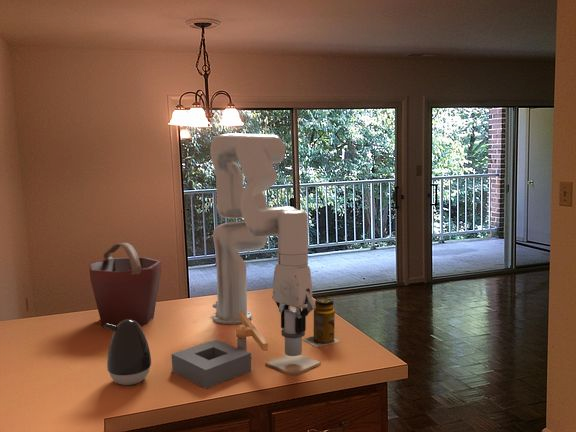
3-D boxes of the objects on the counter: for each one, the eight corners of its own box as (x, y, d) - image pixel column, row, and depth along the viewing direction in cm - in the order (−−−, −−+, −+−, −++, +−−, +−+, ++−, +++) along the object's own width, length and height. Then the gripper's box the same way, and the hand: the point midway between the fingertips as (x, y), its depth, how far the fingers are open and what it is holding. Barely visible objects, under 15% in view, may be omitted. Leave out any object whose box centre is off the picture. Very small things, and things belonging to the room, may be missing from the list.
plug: (276, 353, 136) (276, 311, 135) (292, 346, 140) (292, 306, 139) (293, 359, 132) (293, 316, 130) (309, 352, 136) (309, 311, 135)
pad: (265, 364, 137) (265, 362, 136) (292, 354, 144) (292, 351, 144) (293, 376, 130) (293, 374, 130) (320, 364, 137) (320, 362, 137)
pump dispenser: (112, 372, 132) (109, 313, 130) (155, 370, 133) (152, 312, 131) (102, 390, 122) (98, 327, 120) (147, 389, 123) (145, 325, 121)
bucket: (91, 312, 180) (87, 240, 177) (157, 305, 189) (154, 236, 185) (93, 336, 158) (89, 253, 155) (168, 326, 166) (166, 248, 163)
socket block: (172, 371, 133) (171, 347, 132) (232, 350, 147) (231, 328, 146) (206, 388, 123) (205, 362, 122) (267, 364, 137) (266, 340, 136)
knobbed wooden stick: (247, 353, 127) (246, 345, 127) (225, 320, 152) (225, 313, 152) (267, 351, 129) (267, 343, 129) (243, 318, 153) (243, 311, 153)
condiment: (340, 341, 153) (341, 301, 151) (317, 347, 148) (317, 306, 147) (325, 334, 159) (325, 295, 157) (302, 339, 154) (302, 299, 153)
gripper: (259, 256, 136) (260, 325, 138) (307, 266, 125) (307, 341, 127) (279, 252, 142) (280, 319, 144) (328, 261, 130) (328, 333, 132)
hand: (293, 328), depth 135 cm, fingers closed on plug, 4 cm apart
